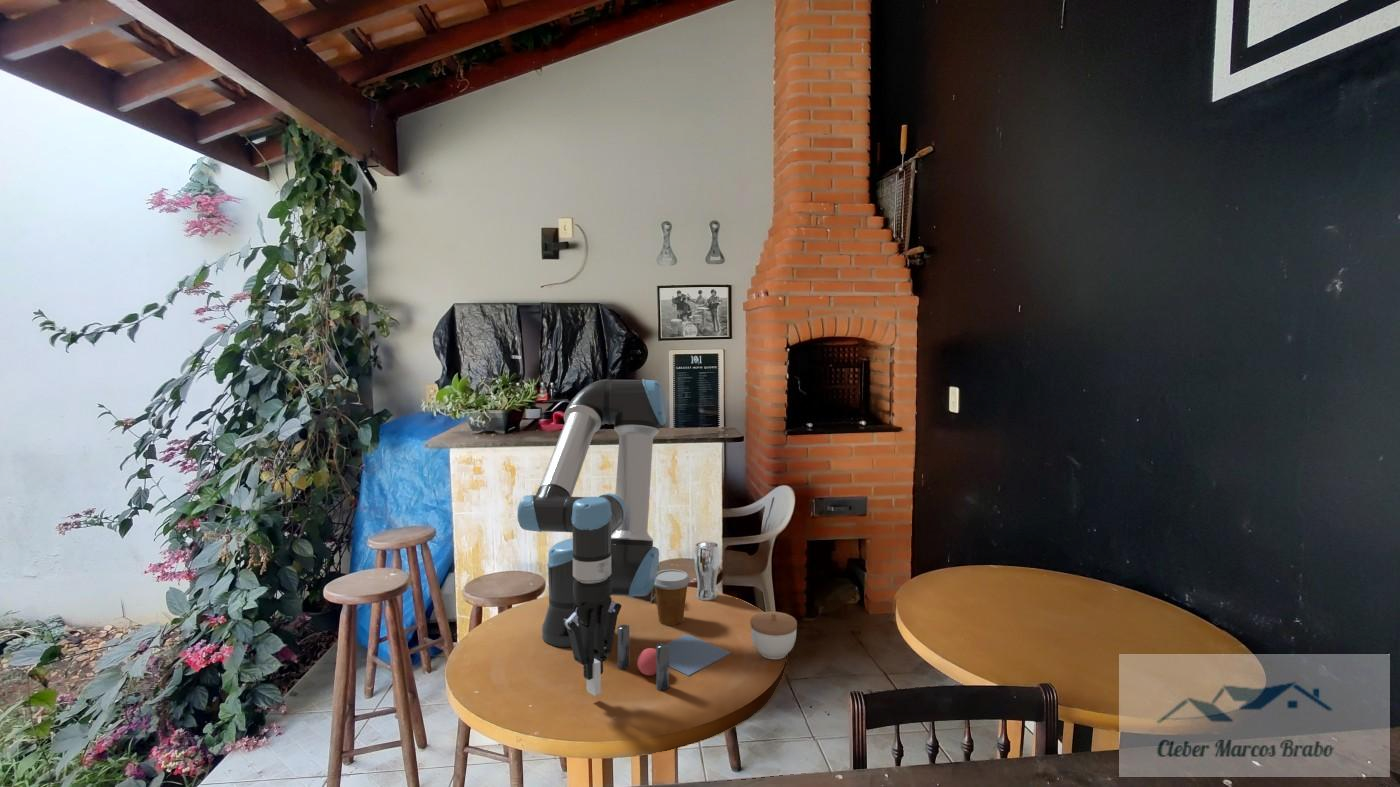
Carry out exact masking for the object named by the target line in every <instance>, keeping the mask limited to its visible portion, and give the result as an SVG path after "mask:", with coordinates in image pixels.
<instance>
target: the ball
mask: <svg viewBox="0 0 1400 787" xmlns="http://www.w3.org/2000/svg"><path fill="white" fill-rule="evenodd" d="M637 668H638V670H639V671H640V673H642V674H643V675H645V676H654V675H655V676H656V648H651V647H649V648H645V649H643V650H642V651H641V652H640V653H639V655H638V657H637Z"/></svg>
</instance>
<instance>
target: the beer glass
mask: <svg viewBox="0 0 1400 787" xmlns="http://www.w3.org/2000/svg"><path fill="white" fill-rule="evenodd" d="M694 547H695V549H694V570H695V575H696V579H697V580H696V582H697V586H696V587H697V589H696V595H695V597H696V599H698V600H701V601H713V600H716V599H717V598H718V592H717V591H718V590H717V579H718V572H719V566H720V551H719V544H718V543H717V542H715V541H714V542H713V541H707V540H706V541H699V542H697V543H695V546H694Z"/></svg>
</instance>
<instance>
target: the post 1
mask: <svg viewBox="0 0 1400 787" xmlns="http://www.w3.org/2000/svg"><path fill="white" fill-rule="evenodd" d="M629 668H630V625H627V624H620V625H618V626H617V669H619V670H621V671H622V670H628V669H629Z"/></svg>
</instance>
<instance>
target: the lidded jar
mask: <svg viewBox="0 0 1400 787" xmlns="http://www.w3.org/2000/svg"><path fill="white" fill-rule="evenodd" d="M749 621H750V634H751V640H752V643H753V646H754V647H755V649H756V651H758V652H759V653H760V655H761V656H762V657H763V658H764V659H768V660H781V659H784V658H785V657H786V656H787V655H788V654H789V653H790V652H791V651H792V650H793V648H794V646H795V642H796V639H797V628H798V621H797V618H795V617H794V616H792V615H790V614H788V613H786V612H780V611H763V612H758V613H756V614H754V615H753V616H752V617H751V618H750V620H749Z"/></svg>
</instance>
